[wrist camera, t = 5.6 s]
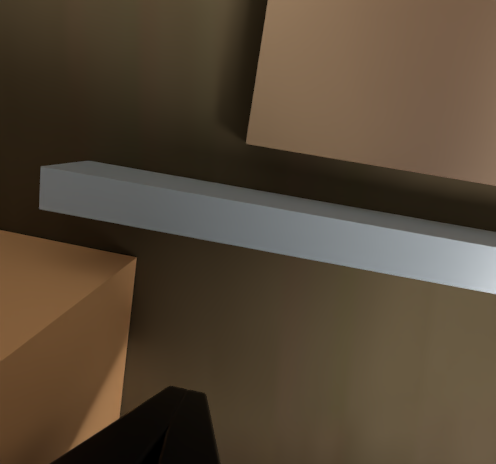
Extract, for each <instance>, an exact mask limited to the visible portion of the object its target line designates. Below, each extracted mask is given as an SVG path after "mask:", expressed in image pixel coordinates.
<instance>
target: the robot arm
mask: <svg viewBox="0 0 496 464" xmlns="http://www.w3.org/2000/svg"><path fill="white" fill-rule="evenodd" d="M50 464H221V463H220V459H219V454H218V449H217V444H216V439H215V434H214V429H213V424H212V420H211V415H210V410H209V405H208V400H207V396H206V394H205V393H202V392H198V391H193V390H187V389H184V388H179V387H175V386H169V387H167V388H165V389H164V390H162V391H161V392H159V393H158V394H156V395H155V396H153V397H152V398H150V399H148V400H147V401H145V402H144V403H142V404H141V405H139V406H138V407H136V408H135V409H133V410H131V411H130V412H128V413H127V414H125V415H124V416H122V417H121V418H119V419H118V420H116V421H114V422H113V423H111V424H110V425H108V426H107V427H105V428H104V429H102V430H101V431H99V432H97V433H96V434H94V435H93V436H91V437H90V438H88V439H87V440H85V441H84V442H82V443H80V444H79V445H77V446H76V447H74V448H73V449H71V450H70V451H68V452H67V453H65V454H64V455H62V456H60V457H59V458H57V459H56V460H54V461H53V462H51V463H50Z"/></svg>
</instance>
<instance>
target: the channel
mask: <svg viewBox="0 0 496 464" xmlns="http://www.w3.org/2000/svg"><path fill="white" fill-rule="evenodd" d="M39 209H41V210H46V211H52V212H57V213H63V214H68V215H73V216H79V217H84V218H89V219H95V220H100V221H106V222H111V223H116V224H122V225H127V226H132V227H138V228H143V229H149V230H154V231H159V232H165V233H170V234H175V235H181V236H186V237H192V238H197V239H202V240H208V241H213V242H218V243H224V244H229V245H235V246H240V247H245V248H251V249H256V250H261V251H267V252H272V253H278V254H283V255H288V256H294V257H299V258H304V259H310V260H315V261H321V262H326V263H331V264H337V265H342V266H347V267H353V268H358V269H364V270H369V271H374V272H380V273H385V274H391V275H396V276H401V277H407V278H412V279H417V280H423V281H428V282H434V283H439V284H444V285H450V286H455V287H460V288H466V289H471V290H477V291H482V292H487V293H493V294H496V232H493V231H488V230H482V229H476V228H471V227H465V226H459V225H453V224H448V223H442V222H436V221H431V220H425V219H419V218H414V217H408V216H402V215H396V214H391V213H385V212H379V211H374V210H368V209H362V208H357V207H351V206H345V205H339V204H334V203H328V202H322V201H317V200H311V199H305V198H300V197H294V196H288V195H282V194H277V193H271V192H265V191H260V190H254V189H248V188H243V187H237V186H231V185H225V184H220V183H214V182H208V181H203V180H197V179H191V178H185V177H180V176H174V175H168V174H163V173H157V172H151V171H146V170H140V169H134V168H128V167H123V166H117V165H111V164H106V163H100V162H94V161H80V162H72V163H64V164H56V165H48V166H41V171H40V198H39Z"/></svg>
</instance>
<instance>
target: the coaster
mask: <svg viewBox="0 0 496 464" xmlns="http://www.w3.org/2000/svg"><path fill="white" fill-rule="evenodd" d="M246 144H249V145H255V146H261V147H267V148H273V149H279V150H285V151H291V152H297V153H303V154H309V155H315V156H321V157H327V158H333V159H339V160H345V161H351V162H357V163H363V164H369V165H375V166H381V167H386V168H392V169H398V170H404V171H410V172H416V173H422V174H428V175H434V176H440V177H446V178H452V179H458V180H464V181H470V182H476V183H482V184H488V185H494V186H496V0H268V3H267V9H266V15H265V22H264V28H263V35H262V41H261V48H260V54H259V61H258V67H257V74H256V80H255V87H254V93H253V99H252V106H251V112H250V119H249V125H248V132H247V138H246Z"/></svg>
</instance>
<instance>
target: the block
mask: <svg viewBox="0 0 496 464" xmlns="http://www.w3.org/2000/svg"><path fill="white" fill-rule="evenodd" d="M136 261H137V257H132V256H127V255H122V254H117V253H112V252H107V251H102V250H97V249H93V248H88V247H83V246H78V245H73V244H68V243H63V242H58V241H53V240H48V239H43V238H38V237H33V236H28V235H23V234H18V233H13V232H8V231H3V230H0V464H50V463H51V462H53V461H54V460H56V459H57V458H59V457H60V456H62V455H64V454H65V453H67V452H68V451H70V450H71V449H73V448H74V447H76V446H77V445H79V444H80V443H82V442H84V441H85V440H87V439H88V438H90V437H91V436H93V435H94V434H96V433H97V432H99V431H101V430H102V429H104V428H105V427H107V426H108V425H110V424H111V423H113V422H114V421H116V420H118V419H119V417H120V408H121V399H122V390H123V380H124V371H125V362H126V353H127V344H128V334H129V325H130V316H131V307H132V298H133V288H134V279H135V270H136Z"/></svg>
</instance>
